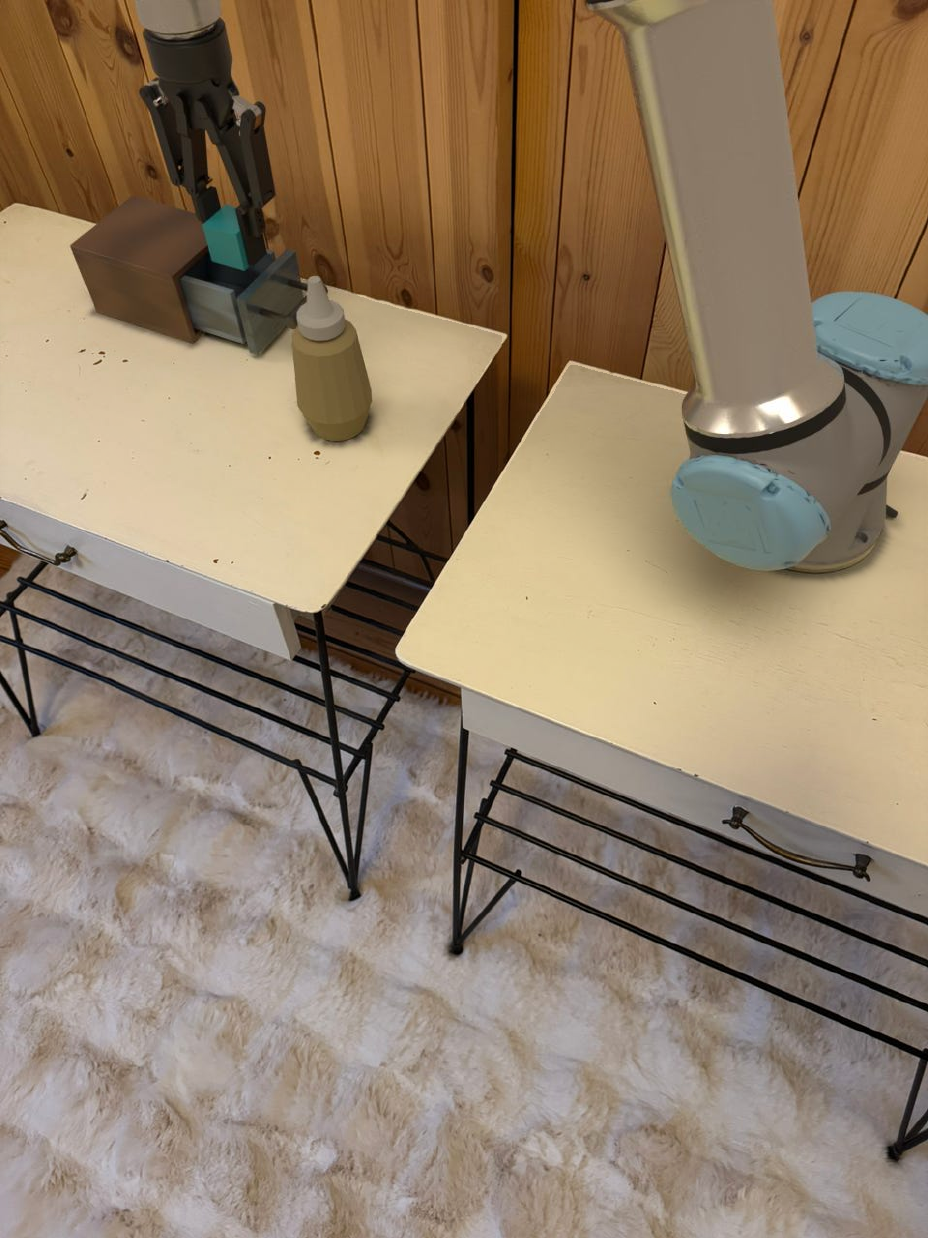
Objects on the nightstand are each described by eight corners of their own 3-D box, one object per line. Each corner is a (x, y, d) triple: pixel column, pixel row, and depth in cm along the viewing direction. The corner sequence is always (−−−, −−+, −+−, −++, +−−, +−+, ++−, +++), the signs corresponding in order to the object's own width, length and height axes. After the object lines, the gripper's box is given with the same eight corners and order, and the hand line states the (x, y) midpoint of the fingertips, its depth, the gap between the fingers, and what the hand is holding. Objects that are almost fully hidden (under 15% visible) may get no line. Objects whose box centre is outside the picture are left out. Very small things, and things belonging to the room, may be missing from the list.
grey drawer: (341, 315, 110) (332, 261, 104) (294, 367, 105) (283, 313, 99) (214, 277, 115) (199, 223, 109) (164, 325, 110) (145, 270, 104)
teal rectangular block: (266, 249, 103) (258, 213, 100) (244, 270, 101) (235, 234, 98) (234, 240, 105) (225, 204, 101) (211, 261, 102) (201, 224, 99)
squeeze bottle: (381, 400, 103) (363, 255, 88) (369, 451, 98) (349, 308, 83) (310, 397, 103) (281, 252, 88) (295, 447, 99) (262, 304, 84)
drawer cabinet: (248, 290, 115) (231, 222, 108) (193, 344, 109) (172, 276, 102) (154, 261, 119) (132, 194, 112) (96, 312, 113) (69, 245, 106)
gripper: (285, 21, 83) (322, 254, 102) (132, -10, 88) (195, 218, 107) (238, 56, 79) (286, 291, 98) (80, 21, 84) (155, 252, 103)
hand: (238, 252), depth 103 cm, fingers closed on teal rectangular block, 4 cm apart
